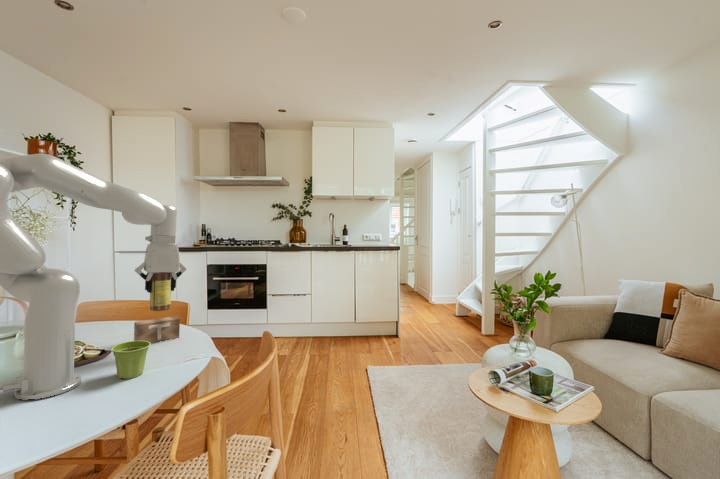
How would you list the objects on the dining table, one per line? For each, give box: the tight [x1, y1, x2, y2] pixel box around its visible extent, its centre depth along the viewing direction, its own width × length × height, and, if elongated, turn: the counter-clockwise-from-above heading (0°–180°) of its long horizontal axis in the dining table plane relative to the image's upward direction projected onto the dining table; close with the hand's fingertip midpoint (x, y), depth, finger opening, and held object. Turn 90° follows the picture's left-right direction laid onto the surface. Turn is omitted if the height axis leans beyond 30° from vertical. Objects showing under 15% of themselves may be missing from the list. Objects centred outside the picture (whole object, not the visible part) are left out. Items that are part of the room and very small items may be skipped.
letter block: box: [133, 315, 181, 344], centre depth 121 cm, size 14×5×8 cm, turn 135°
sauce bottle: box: [149, 272, 172, 312], centre depth 110 cm, size 6×6×20 cm
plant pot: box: [110, 340, 152, 380], centre depth 92 cm, size 9×9×9 cm
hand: (160, 290), depth 110 cm, fingers closed on sauce bottle, 6 cm apart
